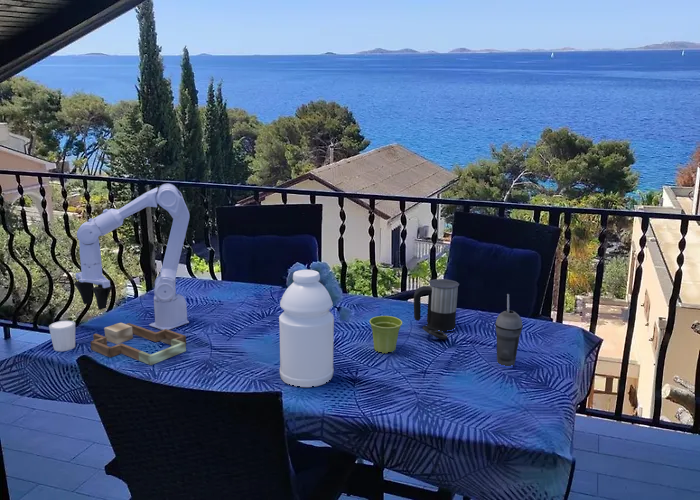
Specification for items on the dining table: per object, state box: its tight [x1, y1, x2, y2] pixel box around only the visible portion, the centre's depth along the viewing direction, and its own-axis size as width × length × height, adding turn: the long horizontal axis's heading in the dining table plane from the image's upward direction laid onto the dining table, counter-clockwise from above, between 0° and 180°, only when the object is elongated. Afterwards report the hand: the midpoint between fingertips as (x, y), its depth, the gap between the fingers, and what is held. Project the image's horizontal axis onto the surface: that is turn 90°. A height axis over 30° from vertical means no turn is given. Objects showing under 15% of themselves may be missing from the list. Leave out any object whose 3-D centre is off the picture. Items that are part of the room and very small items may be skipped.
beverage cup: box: [494, 293, 524, 366], centre depth 168 cm, size 7×7×20 cm
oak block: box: [103, 322, 134, 345], centre depth 184 cm, size 6×6×4 cm
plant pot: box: [369, 315, 403, 354], centre depth 179 cm, size 9×9×9 cm
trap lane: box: [89, 322, 187, 366], centre depth 179 cm, size 19×26×2 cm
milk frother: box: [413, 278, 460, 340], centre depth 192 cm, size 14×16×15 cm
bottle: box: [278, 269, 335, 388], centre depth 159 cm, size 14×14×28 cm
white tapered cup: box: [48, 320, 76, 352], centre depth 178 cm, size 7×7×7 cm
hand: (94, 306), depth 189 cm, fingers open, 7 cm apart
